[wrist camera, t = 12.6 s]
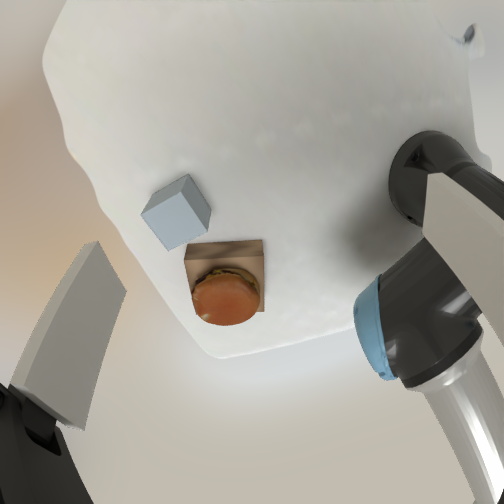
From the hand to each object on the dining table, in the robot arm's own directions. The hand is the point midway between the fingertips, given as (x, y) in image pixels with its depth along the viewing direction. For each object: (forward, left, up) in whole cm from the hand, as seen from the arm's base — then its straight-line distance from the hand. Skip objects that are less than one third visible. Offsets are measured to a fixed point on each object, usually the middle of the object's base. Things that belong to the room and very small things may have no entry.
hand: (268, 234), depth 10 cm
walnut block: (+8, +22, -27) cm, 36 cm away
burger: (+8, +22, -23) cm, 33 cm away
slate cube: (+11, +9, -27) cm, 30 cm away
